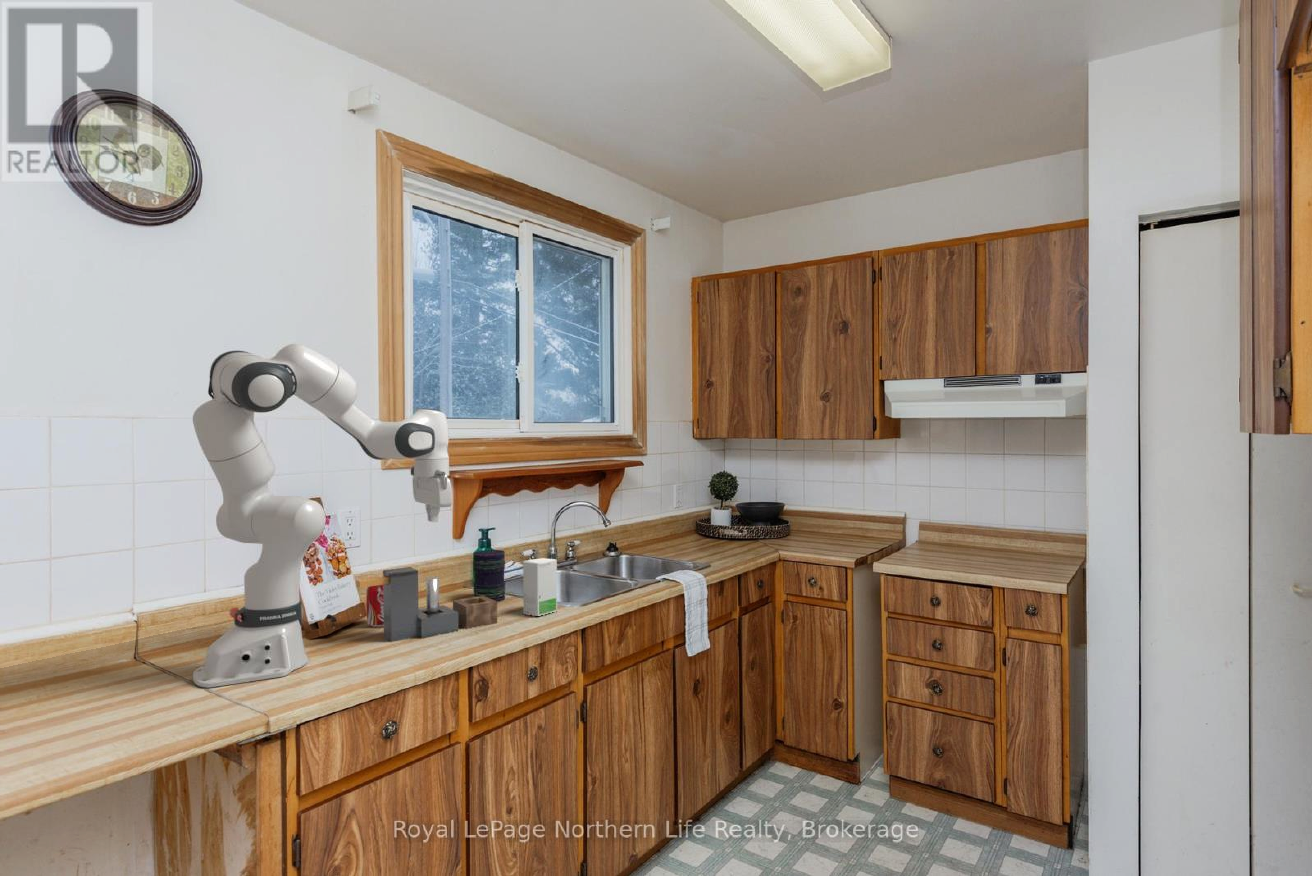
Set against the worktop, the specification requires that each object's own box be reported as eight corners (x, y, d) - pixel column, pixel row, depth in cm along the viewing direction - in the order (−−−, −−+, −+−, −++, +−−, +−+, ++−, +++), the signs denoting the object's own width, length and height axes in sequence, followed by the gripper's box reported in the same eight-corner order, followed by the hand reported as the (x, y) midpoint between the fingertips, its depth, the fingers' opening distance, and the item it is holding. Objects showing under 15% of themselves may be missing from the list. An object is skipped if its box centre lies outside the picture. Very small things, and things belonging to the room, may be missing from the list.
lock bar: (359, 587, 175) (359, 581, 175) (357, 586, 177) (356, 580, 177) (415, 580, 184) (415, 574, 184) (412, 578, 186) (412, 572, 186)
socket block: (394, 643, 177) (393, 575, 176) (381, 634, 184) (380, 569, 184) (458, 631, 187) (457, 566, 187) (443, 623, 195) (443, 561, 195)
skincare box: (537, 617, 200) (536, 563, 200) (521, 614, 204) (521, 561, 204) (558, 611, 207) (558, 559, 206) (542, 608, 211) (542, 556, 210)
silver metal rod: (429, 632, 186) (428, 580, 186) (425, 630, 188) (424, 578, 188) (441, 630, 188) (440, 578, 188) (436, 628, 190) (436, 576, 190)
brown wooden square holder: (466, 628, 189) (466, 606, 189) (453, 622, 196) (452, 600, 196) (497, 622, 195) (496, 601, 195) (482, 616, 202) (482, 595, 202)
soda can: (371, 630, 189) (371, 585, 189) (363, 624, 194) (362, 581, 194) (397, 625, 193) (397, 581, 193) (389, 619, 199) (388, 577, 199)
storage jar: (509, 596, 226) (509, 550, 226) (499, 603, 217) (499, 555, 216) (479, 595, 227) (479, 549, 227) (468, 603, 218) (468, 555, 217)
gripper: (457, 471, 180) (458, 524, 180) (431, 467, 197) (431, 516, 197) (433, 472, 176) (434, 526, 177) (408, 468, 193) (409, 518, 193)
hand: (432, 521), depth 187 cm, fingers closed
